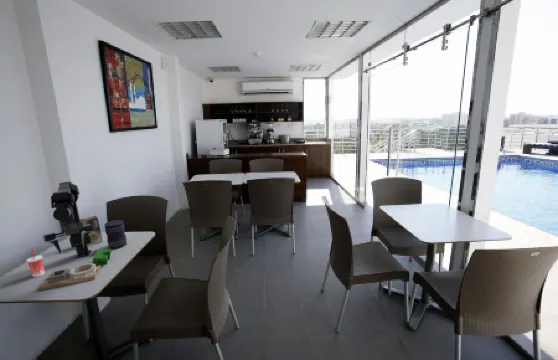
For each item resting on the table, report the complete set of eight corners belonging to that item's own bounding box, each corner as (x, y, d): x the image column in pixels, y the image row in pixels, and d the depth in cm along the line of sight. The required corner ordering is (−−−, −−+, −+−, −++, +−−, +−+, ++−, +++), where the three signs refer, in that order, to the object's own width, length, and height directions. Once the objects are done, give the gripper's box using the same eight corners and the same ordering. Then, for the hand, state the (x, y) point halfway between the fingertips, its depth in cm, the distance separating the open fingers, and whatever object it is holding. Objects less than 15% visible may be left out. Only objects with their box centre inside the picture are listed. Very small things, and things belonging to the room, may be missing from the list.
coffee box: (101, 238, 179) (96, 215, 175) (103, 241, 174) (98, 217, 170) (84, 243, 173) (79, 219, 169) (86, 246, 168) (80, 221, 164)
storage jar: (124, 240, 173) (120, 218, 170) (129, 245, 166) (125, 222, 163) (106, 246, 166) (101, 223, 163) (111, 251, 160) (106, 227, 156)
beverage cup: (47, 274, 138) (40, 248, 135) (31, 279, 133) (23, 253, 130) (45, 269, 142) (39, 245, 139) (30, 274, 138) (23, 249, 135)
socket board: (50, 277, 134) (48, 269, 134) (101, 267, 142) (99, 260, 141) (38, 290, 123) (36, 283, 122) (94, 279, 130) (93, 271, 130)
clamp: (105, 272, 145) (105, 261, 140) (92, 272, 143) (91, 260, 138) (112, 254, 154) (111, 243, 150) (100, 254, 152) (99, 243, 148)
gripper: (43, 224, 116) (51, 259, 117) (94, 213, 130) (100, 245, 131) (39, 223, 123) (46, 256, 125) (87, 213, 137) (93, 243, 139)
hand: (72, 250), depth 130 cm, fingers open, 9 cm apart
